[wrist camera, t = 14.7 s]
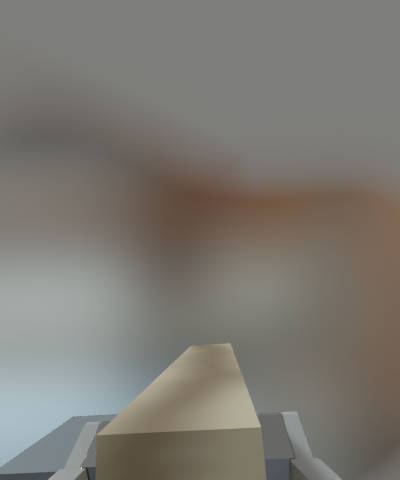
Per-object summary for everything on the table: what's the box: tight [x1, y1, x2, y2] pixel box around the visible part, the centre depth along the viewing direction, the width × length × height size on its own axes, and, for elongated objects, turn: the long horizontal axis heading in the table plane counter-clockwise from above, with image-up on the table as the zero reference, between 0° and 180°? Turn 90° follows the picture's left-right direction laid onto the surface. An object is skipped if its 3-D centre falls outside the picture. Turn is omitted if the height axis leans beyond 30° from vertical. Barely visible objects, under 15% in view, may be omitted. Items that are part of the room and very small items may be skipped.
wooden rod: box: [95, 343, 267, 480], centre depth 18 cm, size 4×24×3 cm, turn 176°
